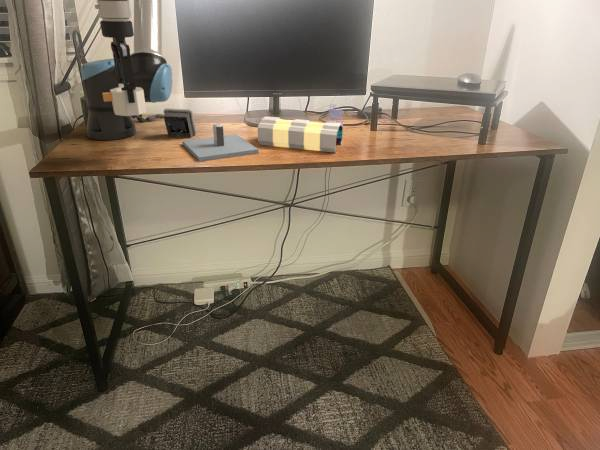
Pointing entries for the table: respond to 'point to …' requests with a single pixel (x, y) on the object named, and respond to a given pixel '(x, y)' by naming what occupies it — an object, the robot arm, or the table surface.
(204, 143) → the shaft plate
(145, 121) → the zombie figurine
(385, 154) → the table surface
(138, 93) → the beige octagonal hollow block
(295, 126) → the striped octagonal tube
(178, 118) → the electrical switch
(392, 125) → the table surface
